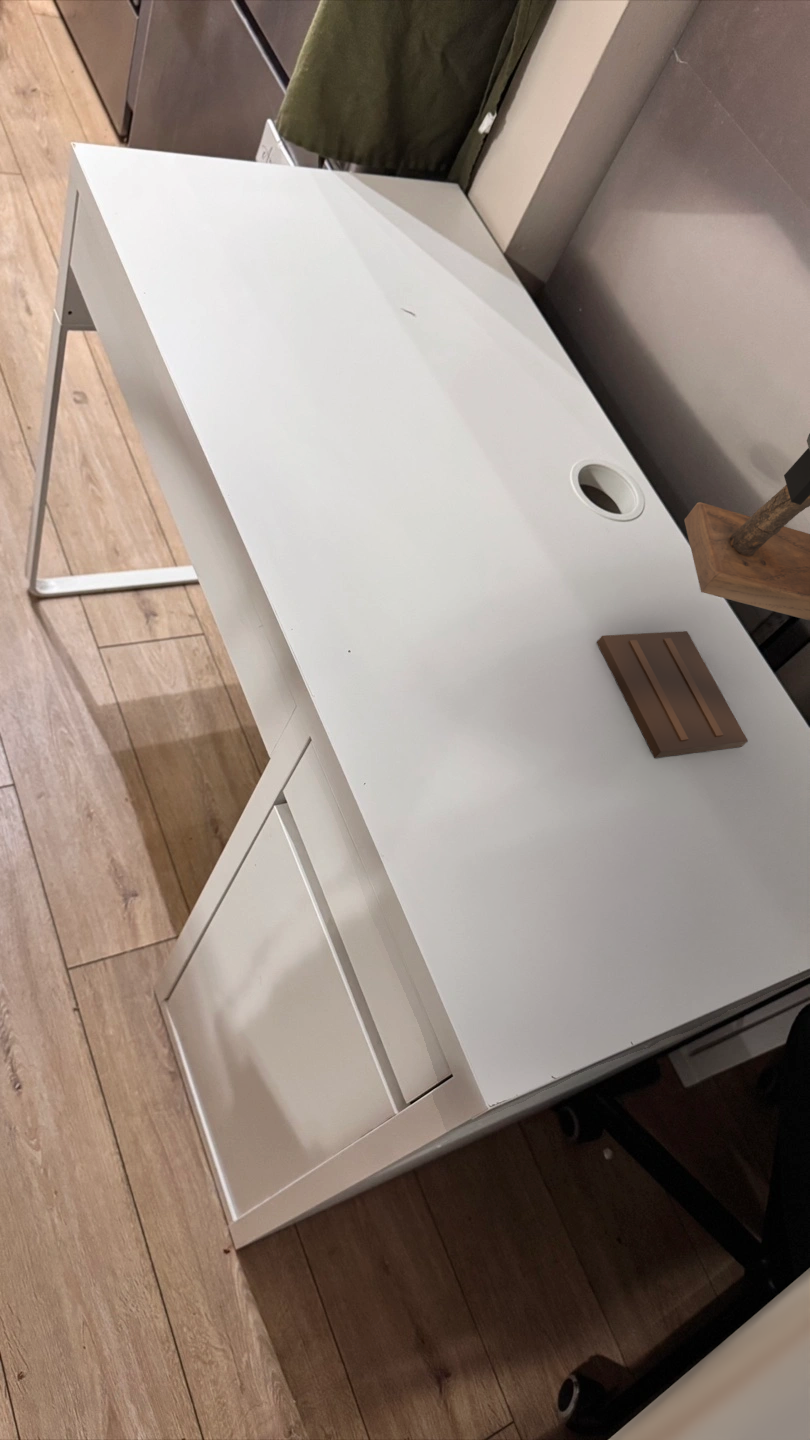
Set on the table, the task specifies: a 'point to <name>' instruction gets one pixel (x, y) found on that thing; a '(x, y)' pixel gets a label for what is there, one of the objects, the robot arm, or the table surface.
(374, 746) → the table surface
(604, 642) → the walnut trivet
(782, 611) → the bird figurine
